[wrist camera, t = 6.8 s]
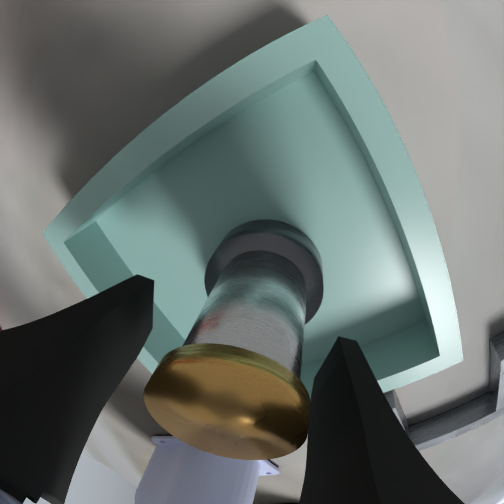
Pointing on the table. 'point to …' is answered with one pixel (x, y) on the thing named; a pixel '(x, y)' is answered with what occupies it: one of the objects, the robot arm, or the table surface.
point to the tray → (276, 207)
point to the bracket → (463, 417)
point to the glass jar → (245, 348)
